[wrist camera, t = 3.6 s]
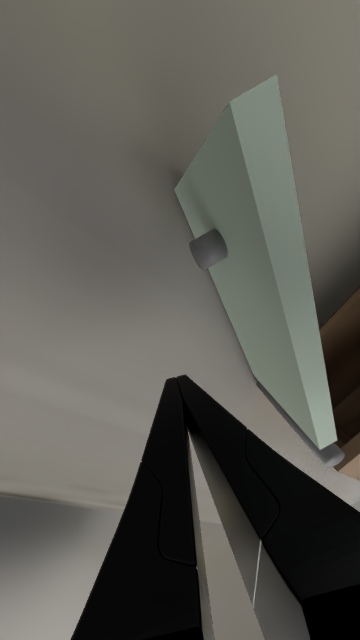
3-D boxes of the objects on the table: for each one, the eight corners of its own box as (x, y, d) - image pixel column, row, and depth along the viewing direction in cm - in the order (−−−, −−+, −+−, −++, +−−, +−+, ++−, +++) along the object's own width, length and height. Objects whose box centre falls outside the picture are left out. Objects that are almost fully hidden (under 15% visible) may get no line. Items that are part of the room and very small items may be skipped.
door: (194, 177, 9) (289, 60, 3) (271, 382, 15) (345, 459, 10) (155, 200, 9) (184, 122, 3) (249, 395, 15) (311, 478, 10)
